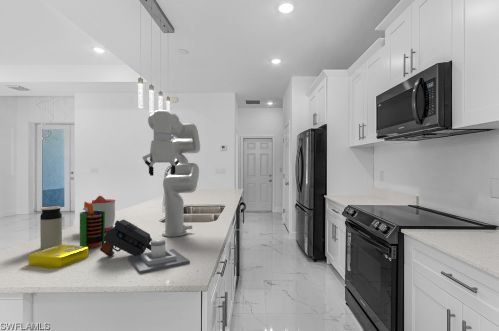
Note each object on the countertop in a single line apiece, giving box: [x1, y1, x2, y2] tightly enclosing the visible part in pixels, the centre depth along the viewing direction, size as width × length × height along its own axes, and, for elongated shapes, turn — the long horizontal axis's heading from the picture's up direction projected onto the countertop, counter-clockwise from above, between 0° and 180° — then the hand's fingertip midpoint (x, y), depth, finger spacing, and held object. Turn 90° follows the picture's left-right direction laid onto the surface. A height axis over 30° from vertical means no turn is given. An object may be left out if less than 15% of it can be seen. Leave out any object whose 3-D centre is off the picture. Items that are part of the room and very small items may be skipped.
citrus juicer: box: [82, 195, 116, 232], centre depth 161 cm, size 16×17×20 cm
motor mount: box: [128, 248, 191, 274], centre depth 110 cm, size 18×18×2 cm
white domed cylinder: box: [150, 238, 166, 260], centre depth 110 cm, size 5×5×7 cm
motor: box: [79, 201, 106, 250], centre depth 130 cm, size 10×9×20 cm
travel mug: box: [39, 205, 63, 250], centre depth 129 cm, size 8×8×18 cm
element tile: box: [27, 243, 89, 270], centre depth 111 cm, size 15×15×5 cm
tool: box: [99, 219, 153, 258], centre depth 117 cm, size 6×19×15 cm, turn 95°
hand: (162, 175), depth 131 cm, fingers open, 9 cm apart
